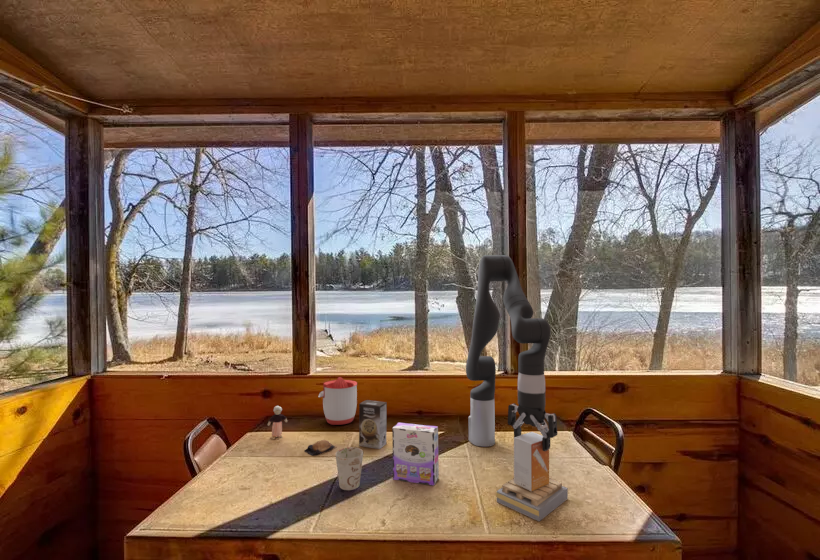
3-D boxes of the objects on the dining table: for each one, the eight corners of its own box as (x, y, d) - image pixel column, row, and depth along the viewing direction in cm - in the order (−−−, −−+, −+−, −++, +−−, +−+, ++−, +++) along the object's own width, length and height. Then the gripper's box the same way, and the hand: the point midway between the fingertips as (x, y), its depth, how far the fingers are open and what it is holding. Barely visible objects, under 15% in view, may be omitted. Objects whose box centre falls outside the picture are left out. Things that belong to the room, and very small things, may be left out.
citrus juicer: (318, 417, 186) (318, 374, 186) (355, 414, 190) (355, 372, 190) (318, 429, 170) (318, 382, 171) (359, 425, 175) (359, 379, 175)
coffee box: (358, 446, 152) (358, 403, 152) (366, 440, 158) (366, 399, 158) (379, 449, 149) (379, 406, 149) (387, 443, 155) (387, 401, 155)
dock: (495, 501, 112) (495, 491, 112) (526, 482, 123) (526, 472, 123) (538, 521, 103) (538, 510, 103) (567, 498, 114) (567, 488, 114)
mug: (340, 495, 116) (340, 460, 117) (328, 477, 127) (328, 445, 128) (367, 488, 120) (367, 454, 120) (353, 471, 131) (353, 440, 132)
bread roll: (324, 443, 156) (324, 434, 156) (338, 449, 151) (338, 439, 151) (301, 452, 148) (301, 442, 148) (315, 458, 142) (315, 448, 143)
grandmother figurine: (270, 440, 158) (270, 408, 158) (266, 438, 161) (266, 406, 161) (288, 436, 163) (288, 404, 163) (285, 433, 166) (285, 402, 166)
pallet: (501, 491, 112) (501, 485, 112) (527, 474, 122) (527, 469, 122) (537, 506, 104) (537, 500, 104) (562, 487, 114) (562, 482, 114)
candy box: (439, 477, 127) (439, 425, 127) (434, 486, 121) (433, 432, 121) (398, 471, 131) (398, 421, 131) (392, 479, 125) (391, 427, 126)
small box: (531, 492, 108) (531, 444, 108) (513, 483, 113) (512, 437, 114) (550, 483, 113) (549, 437, 113) (531, 475, 118) (531, 431, 118)
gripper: (502, 386, 116) (502, 442, 116) (548, 396, 105) (548, 458, 105) (516, 381, 121) (516, 435, 121) (561, 391, 111) (562, 449, 111)
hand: (531, 445), depth 113 cm, fingers open, 8 cm apart
